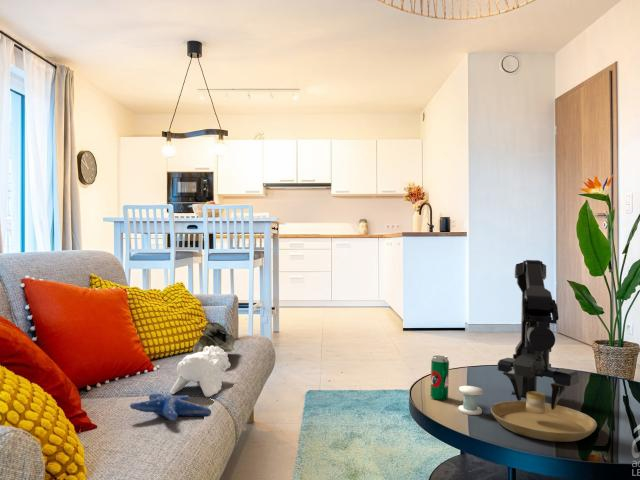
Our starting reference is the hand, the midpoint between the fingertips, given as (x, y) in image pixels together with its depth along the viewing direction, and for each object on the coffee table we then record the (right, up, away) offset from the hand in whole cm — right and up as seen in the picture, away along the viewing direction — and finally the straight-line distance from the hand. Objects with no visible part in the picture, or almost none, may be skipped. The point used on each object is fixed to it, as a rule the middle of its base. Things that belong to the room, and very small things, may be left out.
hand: (535, 404), depth 127 cm
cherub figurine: (-90, -3, +22) cm, 93 cm away
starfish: (-92, -2, -2) cm, 92 cm away
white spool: (-15, -4, +7) cm, 17 cm away
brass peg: (0, -2, 0) cm, 2 cm away
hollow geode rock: (-94, -3, +59) cm, 111 cm away
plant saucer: (0, -5, -3) cm, 6 cm away
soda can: (-20, -4, +18) cm, 28 cm away
